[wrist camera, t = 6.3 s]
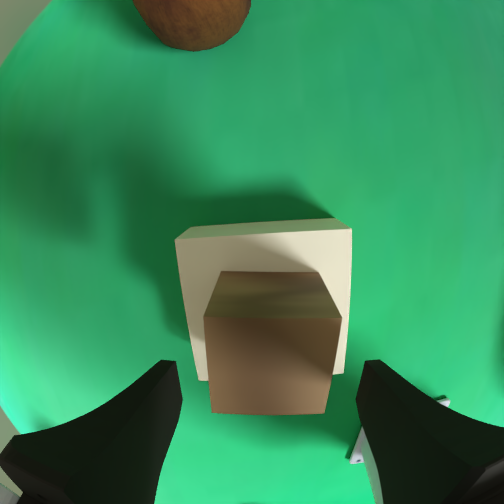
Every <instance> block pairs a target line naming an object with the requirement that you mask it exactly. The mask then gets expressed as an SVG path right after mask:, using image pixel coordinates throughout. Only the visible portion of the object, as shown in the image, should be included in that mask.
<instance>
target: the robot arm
mask: <svg viewBox="0 0 504 504" xmlns="http://www.w3.org/2000/svg"><path fill="white" fill-rule="evenodd" d="M182 401H183V398H182V393H181V388H180V382H179V377H178V371H177V365H176V361H169V360H160V361H159V362H158V363H156V364H155V365H154V366H153V367H152V368H150V369H149V370H148V371H147V372H146V373H145V374H143V375H142V376H141V377H140V378H139V379H137V380H136V381H135V382H134V383H132V384H131V385H130V386H129V387H127V388H126V389H125V390H123V391H122V392H121V393H119V394H118V395H116V396H115V397H114V398H112V399H111V400H109V401H108V402H106V403H105V404H103V405H101V406H100V407H98V408H96V409H94V410H93V411H91V412H89V413H87V414H85V415H83V416H80V417H78V418H76V419H74V420H71V421H69V422H67V423H64V424H61V425H58V426H55V427H52V428H49V429H45V430H41V431H37V432H32V433H27V434H21V435H14V436H13V438H12V439H11V440H10V442H9V443H8V444H7V445H6V447H5V448H4V449H3V451H2V452H1V454H0V466H1V468H2V469H3V471H4V472H5V473H6V474H7V475H8V476H9V477H10V479H11V480H12V481H13V482H14V483H15V484H16V485H17V486H18V487H19V488H20V489H21V490H22V491H23V494H22V495H21V497H19V496H18V495H17V494H15V493H14V492H13V491H11V490H10V489H8V488H7V487H5V486H4V485H2V484H1V483H0V504H154V501H155V496H156V490H157V486H158V481H159V476H160V472H161V468H162V465H163V462H164V459H165V457H166V454H167V451H168V448H169V446H170V443H171V440H172V437H173V435H174V432H175V429H176V426H177V423H178V420H179V416H180V411H181V406H182ZM356 403H357V408H358V413H359V418H360V421H361V424H362V427H361V430H360V433H359V436H358V438H357V441H356V444H355V446H354V449H353V452H352V454H351V457H350V459H349V462H350V463H351V464H355V463H361V462H364V463H365V467H366V470H367V474H368V477H369V481H370V484H371V488H372V492H373V495H374V499H375V503H376V504H504V427H499V426H495V425H491V424H487V423H484V422H481V421H478V420H475V419H472V418H470V417H467V416H465V415H462V414H460V413H458V412H456V411H454V410H452V409H450V408H448V405H449V403H450V400H449V398H445V399H441V400H437V401H435V400H434V399H432V398H431V397H429V396H428V395H426V394H425V393H423V392H422V391H420V390H419V389H417V388H416V387H415V386H413V385H412V384H411V383H409V382H408V381H407V380H405V379H404V378H403V377H402V376H400V375H399V374H398V373H397V372H395V371H394V370H393V369H391V368H390V367H389V366H388V365H386V364H385V363H384V362H382V361H381V360H380V359H379V360H368V361H365V364H364V368H363V372H362V376H361V380H360V384H359V388H358V392H357V396H356Z"/></svg>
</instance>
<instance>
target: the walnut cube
mask: <svg viewBox="0 0 504 504" xmlns="http://www.w3.org/2000/svg"><path fill="white" fill-rule="evenodd" d="M203 321H204V335H205V347H206V359H207V370H208V380H209V390H210V400H211V409H212V413H224V414H245V415H301V414H321V413H324V412H325V408H326V404H327V399H328V394H329V390H330V385H331V380H332V375H333V370H334V365H335V359H336V354H337V348H338V342H339V336H340V330H341V323H342V316H341V314H340V312H339V310H338V308H337V306H336V304H335V302H334V300H333V299H332V297H331V295H330V293H329V291H328V289H327V287H326V285H325V283H324V281H323V279H322V277H321V276H320V274H319V272H247V271H221V272H220V275H219V277H218V280H217V283H216V285H215V288H214V290H213V293H212V295H211V298H210V300H209V303H208V305H207V308H206V310H205V313H204V316H203Z"/></svg>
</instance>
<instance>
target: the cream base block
mask: <svg viewBox="0 0 504 504" xmlns="http://www.w3.org/2000/svg"><path fill="white" fill-rule="evenodd" d="M175 247H176V254H177V261H178V268H179V275H180V282H181V288H182V294H183V301H184V306H185V312H186V318H187V324H188V329H189V334H190V340H191V345H192V350H193V355H194V360H195V365H196V369H197V374H198V379H199V381H209V380H208V370H207V359H206V347H205V335H204V321H203V316H204V313H205V310H206V308H207V305H208V303H209V300H210V298H211V295H212V293H213V290H214V288H215V285H216V283H217V280H218V277H219V275H220V272H221V271H247V272H319V274H320V276H321V277H322V279H323V281H324V283H325V285H326V287H327V289H328V291H329V293H330V295H331V297H332V299H333V300H334V302H335V304H336V306H337V308H338V310H339V312H340V314H341V316H342V323H341V330H340V336H339V342H338V348H337V354H336V359H335V365H334V370H333V374H342V373H343V372H344V364H345V354H346V344H347V333H348V320H349V306H350V287H351V258H352V229H351V228H350V227H348V226H347V225H345V224H344V223H342V222H341V221H339V220H338V219H336V218H324V219H304V220H285V221H268V222H252V223H237V224H223V225H209V226H196V227H190V228H189V229H187V230H186V231H185V232H183V233H182V234H181V235H180V236H178V237H177V238H176V239H175Z"/></svg>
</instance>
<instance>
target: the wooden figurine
mask: <svg viewBox="0 0 504 504" xmlns="http://www.w3.org/2000/svg"><path fill="white" fill-rule="evenodd" d="M133 3H134V5H135V7H136V8H137V10H138V12H139V13H140V15H141V16H142V18H143V20H144V21H145V23H146V24H147V26H148V27H149V28H150V29H151V30H152V31H153V32H154V33H155V35H156V36H157V37H158V38H159V39H160V40H161V41H162V42H163V43H164V44H165V45H167V46H170V47H172V48H176V49H182V50H188V51H193V52H194V51H201V50H207V49H212V48H214V47H216V46H219V45H221V44H224V43H225V42H226V41H228V40H229V39H230V38H231V37H233V36H234V35H235V34H236V33H238V31H239V30H240V28H241V26H242V24H243V23H244V21H245V19H246V17H247V15H248V13H249V10H250V7H251V0H133Z"/></svg>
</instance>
